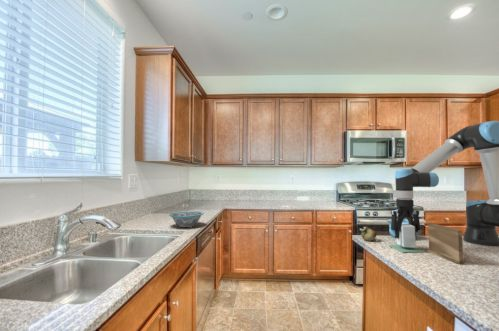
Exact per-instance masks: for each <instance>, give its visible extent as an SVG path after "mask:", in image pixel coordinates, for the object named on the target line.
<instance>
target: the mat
mask: <svg viewBox="0 0 499 331" xmlns="http://www.w3.org/2000/svg"><path fill="white" fill-rule="evenodd" d="M388 247H389V248H391V249H394V250H396V251H398V252H400V253H403V254H415V253H426V251H425V250H423V249H420V248H418V247H416V248H412V247H403V246H401V245H398V244H388Z"/></svg>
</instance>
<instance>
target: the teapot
mask: <svg viewBox="0 0 499 331" xmlns="http://www.w3.org/2000/svg"><path fill="white" fill-rule="evenodd" d="M386 222H387V223H388V227H389V229H388V230H389V235H391V236H393V238H396V237H395V231H394V230H391V221H390V220H386ZM402 223H408V224H409V222H408V220H407V219H406V218H404V219H403V222H402ZM416 236H417V237H418V232H416ZM417 237H416V238H415V240H416V239H417Z"/></svg>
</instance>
